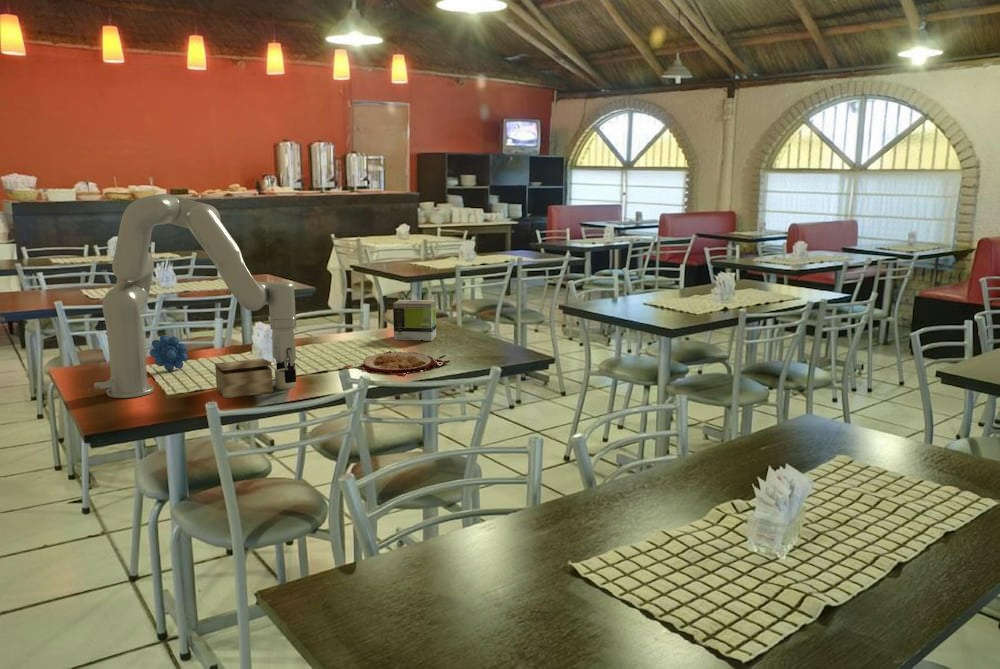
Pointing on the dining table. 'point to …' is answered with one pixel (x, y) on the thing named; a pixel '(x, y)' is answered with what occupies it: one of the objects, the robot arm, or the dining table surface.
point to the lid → (242, 364)
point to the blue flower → (169, 352)
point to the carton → (244, 381)
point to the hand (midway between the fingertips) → (286, 378)
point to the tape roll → (282, 380)
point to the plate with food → (398, 362)
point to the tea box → (414, 320)
